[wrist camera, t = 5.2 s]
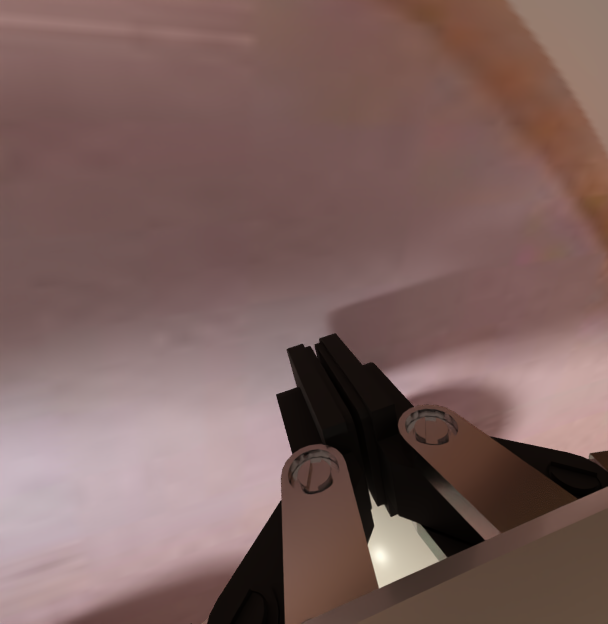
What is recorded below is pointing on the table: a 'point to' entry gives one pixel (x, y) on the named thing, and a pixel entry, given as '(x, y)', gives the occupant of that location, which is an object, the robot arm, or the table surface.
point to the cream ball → (396, 547)
